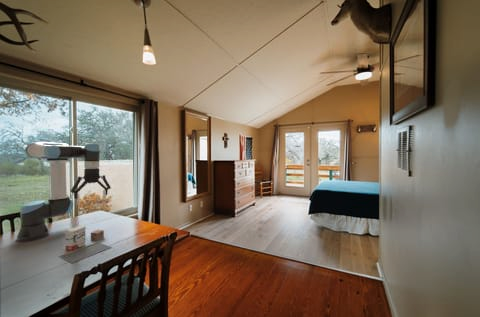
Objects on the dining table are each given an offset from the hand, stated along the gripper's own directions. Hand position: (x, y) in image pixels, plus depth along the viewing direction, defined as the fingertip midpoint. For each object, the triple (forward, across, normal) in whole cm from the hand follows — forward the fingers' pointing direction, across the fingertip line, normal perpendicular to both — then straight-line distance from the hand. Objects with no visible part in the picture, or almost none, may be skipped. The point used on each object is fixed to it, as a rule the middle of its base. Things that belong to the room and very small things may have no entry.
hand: (91, 201), depth 124 cm
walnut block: (+27, +5, +7) cm, 29 cm away
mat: (+27, -4, -9) cm, 29 cm away
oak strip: (+27, -6, -3) cm, 28 cm away
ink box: (+28, -7, +3) cm, 29 cm away
